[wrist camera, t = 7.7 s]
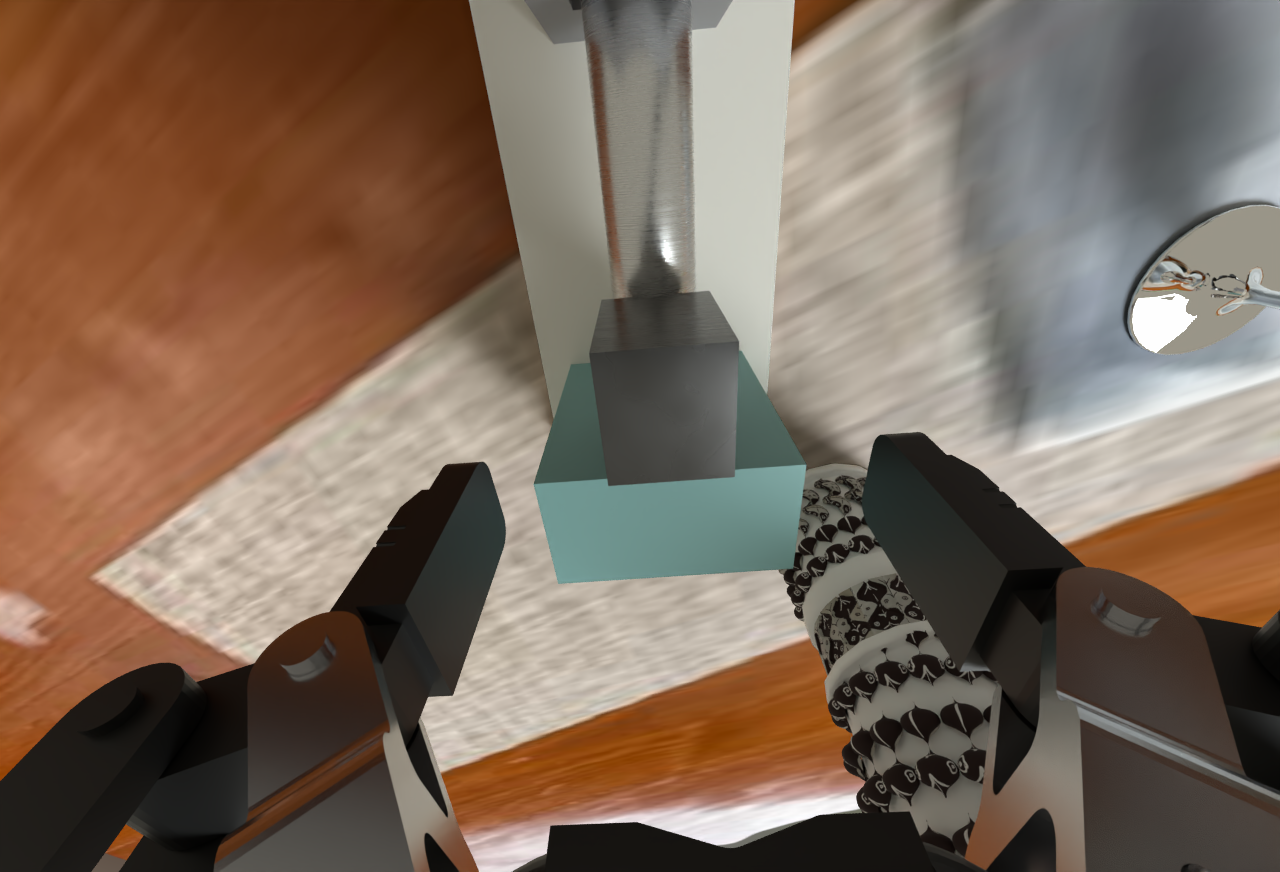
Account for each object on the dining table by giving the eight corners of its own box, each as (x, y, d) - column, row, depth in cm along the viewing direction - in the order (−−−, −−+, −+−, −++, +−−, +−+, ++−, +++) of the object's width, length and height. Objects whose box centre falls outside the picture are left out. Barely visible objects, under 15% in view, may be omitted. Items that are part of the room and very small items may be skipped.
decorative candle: (755, 565, 34) (959, 1243, 13) (762, 463, 29) (1105, 1268, 8) (879, 557, 34) (1301, 1237, 12) (906, 453, 29) (1663, 1260, 8)
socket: (570, 364, 24) (533, 484, 15) (741, 350, 24) (806, 464, 15) (583, 441, 27) (558, 583, 18) (738, 429, 26) (793, 568, 17)
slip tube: (542, -274, 11) (402, -941, 4) (691, -292, 11) (782, -1009, 4) (625, 453, 22) (622, 583, 15) (701, 448, 22) (731, 575, 15)
